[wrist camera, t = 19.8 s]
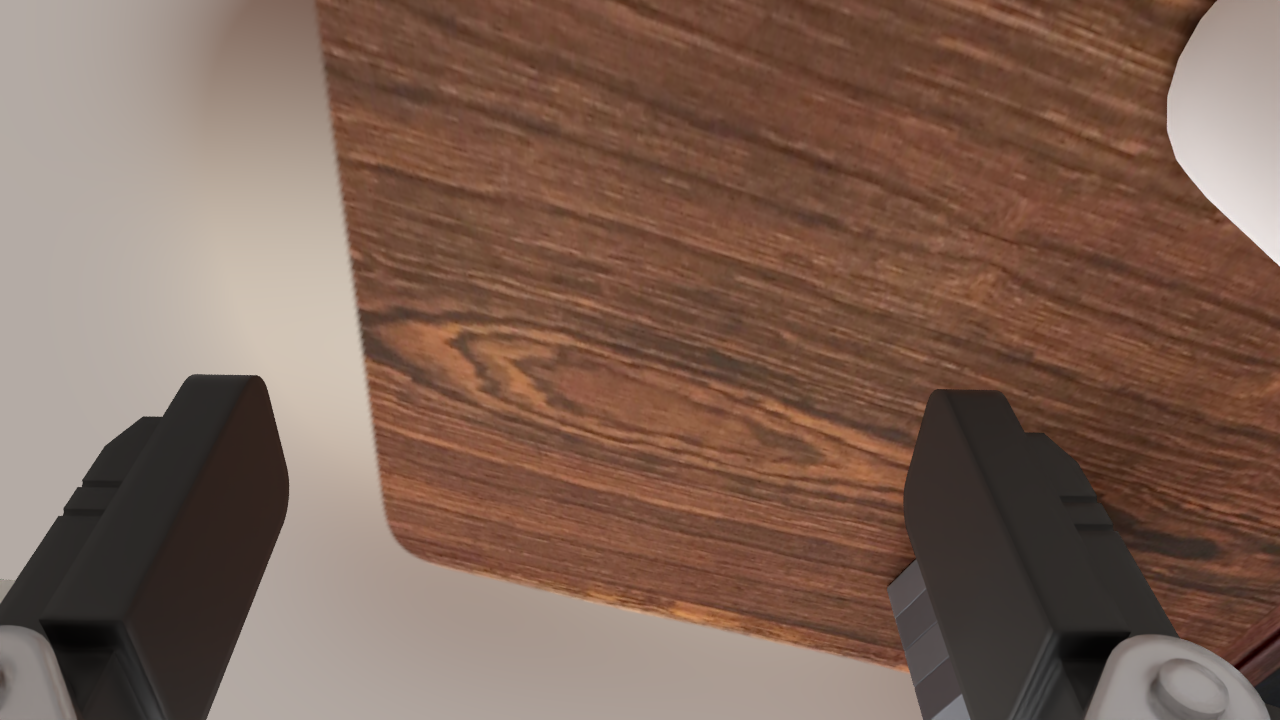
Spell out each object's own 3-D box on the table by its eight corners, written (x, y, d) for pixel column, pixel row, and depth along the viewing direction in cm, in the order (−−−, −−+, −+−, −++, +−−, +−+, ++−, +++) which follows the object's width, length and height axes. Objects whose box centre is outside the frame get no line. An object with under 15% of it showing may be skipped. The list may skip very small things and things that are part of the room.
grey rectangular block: (885, 588, 45) (924, 725, 39) (940, 533, 43) (989, 671, 37) (1016, 633, 47) (1071, 770, 41) (1075, 584, 45) (1141, 721, 39)
